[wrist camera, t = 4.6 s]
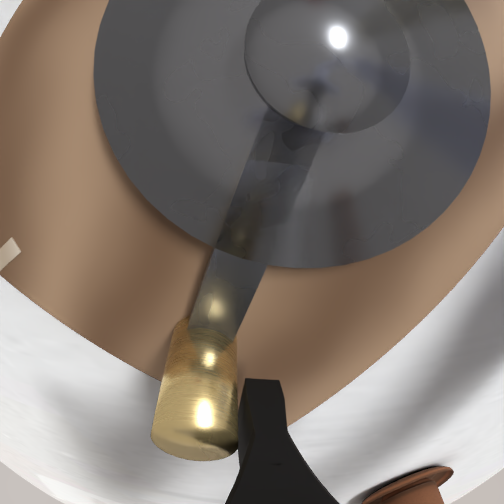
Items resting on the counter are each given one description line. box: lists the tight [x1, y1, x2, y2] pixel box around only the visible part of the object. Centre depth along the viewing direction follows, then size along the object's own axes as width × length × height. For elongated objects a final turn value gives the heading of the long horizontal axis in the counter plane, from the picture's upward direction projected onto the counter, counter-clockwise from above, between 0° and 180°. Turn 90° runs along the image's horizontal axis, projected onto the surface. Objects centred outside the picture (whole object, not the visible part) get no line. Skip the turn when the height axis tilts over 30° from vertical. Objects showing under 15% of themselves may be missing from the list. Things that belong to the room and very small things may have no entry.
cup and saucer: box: [362, 466, 454, 504], centre depth 23 cm, size 12×12×6 cm
